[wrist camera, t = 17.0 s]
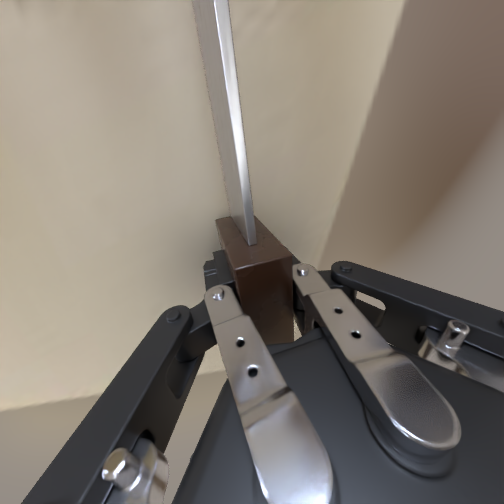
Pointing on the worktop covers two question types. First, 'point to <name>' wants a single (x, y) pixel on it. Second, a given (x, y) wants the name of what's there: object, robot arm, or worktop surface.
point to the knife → (242, 189)
